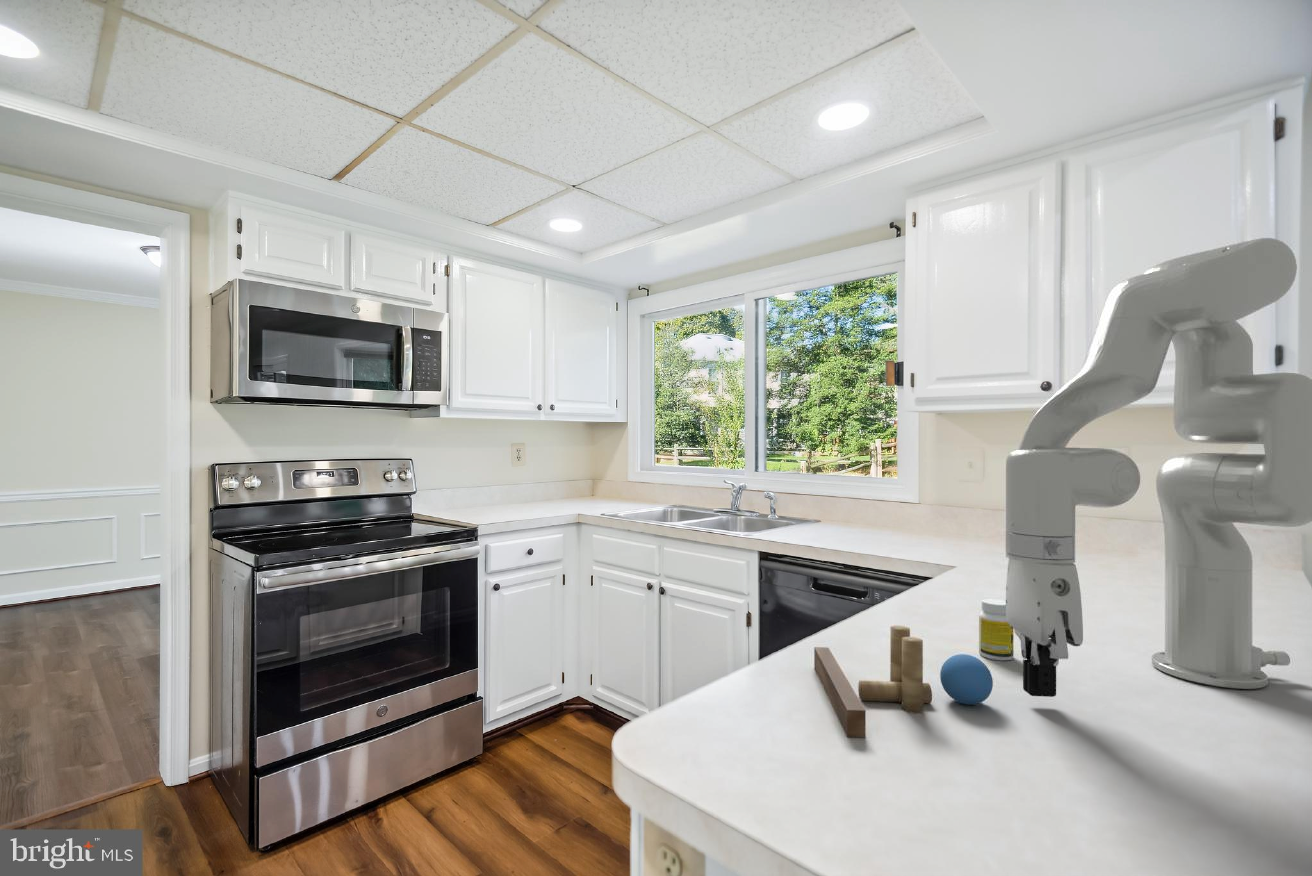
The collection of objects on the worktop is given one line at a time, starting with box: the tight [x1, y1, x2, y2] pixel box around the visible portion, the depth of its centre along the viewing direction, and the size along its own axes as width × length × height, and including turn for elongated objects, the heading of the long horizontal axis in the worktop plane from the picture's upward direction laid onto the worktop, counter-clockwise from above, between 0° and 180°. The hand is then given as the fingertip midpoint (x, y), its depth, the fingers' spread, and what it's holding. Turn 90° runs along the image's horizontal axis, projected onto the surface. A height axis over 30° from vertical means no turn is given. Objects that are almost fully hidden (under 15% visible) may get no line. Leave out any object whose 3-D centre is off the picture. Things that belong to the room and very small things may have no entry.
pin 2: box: [901, 636, 924, 714], centre depth 79 cm, size 2×2×8 cm
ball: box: [939, 653, 994, 706], centre depth 81 cm, size 6×6×6 cm
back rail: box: [813, 646, 867, 739], centre depth 82 cm, size 2×22×3 cm, turn 175°
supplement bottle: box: [978, 598, 1015, 662], centre depth 99 cm, size 5×5×8 cm
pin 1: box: [889, 625, 911, 682], centre depth 84 cm, size 2×2×8 cm
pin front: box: [857, 680, 933, 704], centre depth 81 cm, size 2×2×8 cm
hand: (1039, 693), depth 80 cm, fingers closed
